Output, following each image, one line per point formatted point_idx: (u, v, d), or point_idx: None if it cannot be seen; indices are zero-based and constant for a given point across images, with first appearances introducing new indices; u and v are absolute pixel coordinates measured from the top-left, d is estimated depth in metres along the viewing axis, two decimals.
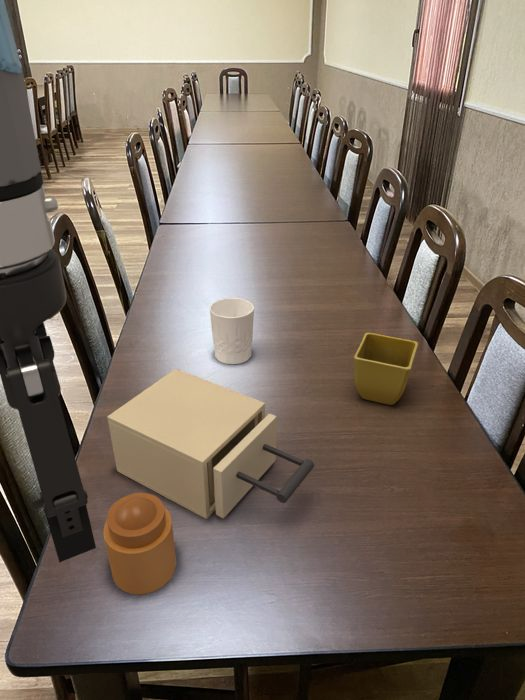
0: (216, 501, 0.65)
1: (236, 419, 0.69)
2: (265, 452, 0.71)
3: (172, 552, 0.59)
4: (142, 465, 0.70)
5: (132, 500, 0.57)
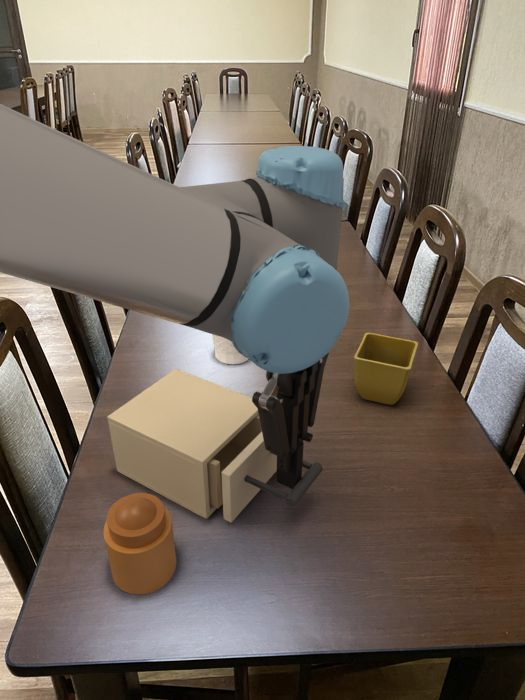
0: (224, 505, 0.65)
1: (236, 419, 0.69)
2: (273, 455, 0.71)
3: (172, 552, 0.59)
4: (142, 465, 0.70)
5: (132, 500, 0.57)
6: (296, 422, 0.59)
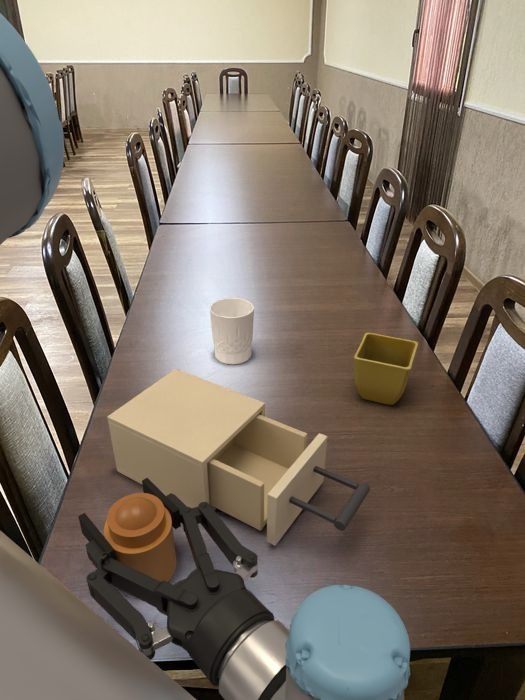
0: (268, 528, 0.62)
1: (236, 419, 0.69)
2: (315, 474, 0.68)
3: (172, 552, 0.59)
4: (142, 465, 0.70)
5: (132, 500, 0.57)
6: None
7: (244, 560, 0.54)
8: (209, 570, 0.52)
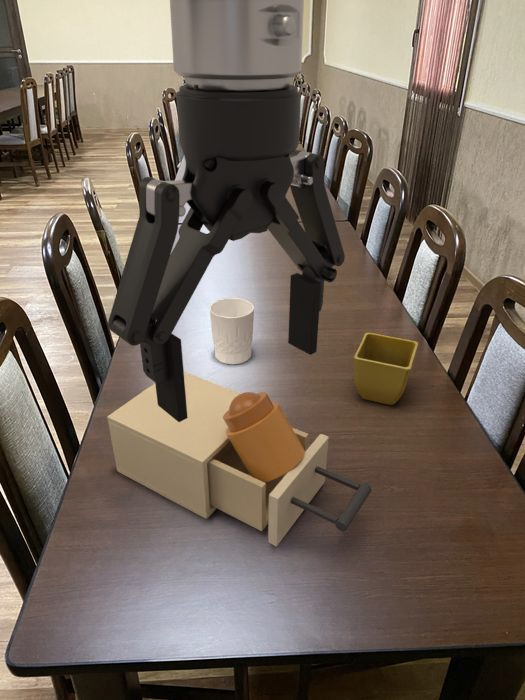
0: (269, 528, 0.62)
1: None
2: (316, 474, 0.68)
3: (291, 432, 0.64)
4: (142, 465, 0.70)
5: None
6: (191, 288, 0.34)
7: None
8: None
